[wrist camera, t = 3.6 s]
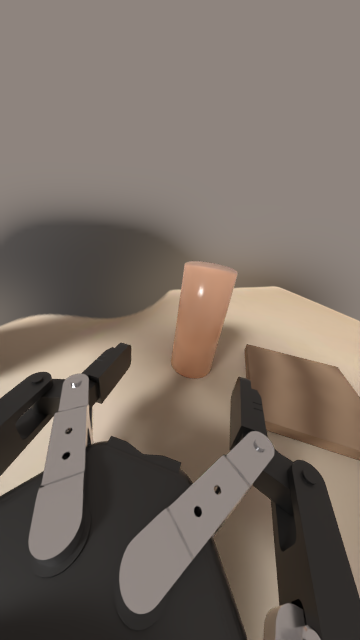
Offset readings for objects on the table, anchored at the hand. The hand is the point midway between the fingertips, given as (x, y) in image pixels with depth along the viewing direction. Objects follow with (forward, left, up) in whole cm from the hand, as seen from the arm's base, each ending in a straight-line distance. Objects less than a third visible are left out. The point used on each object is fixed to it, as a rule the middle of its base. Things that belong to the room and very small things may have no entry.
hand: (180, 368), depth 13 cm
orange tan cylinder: (0, +10, -8) cm, 12 cm away
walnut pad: (+14, +10, -8) cm, 19 cm away
